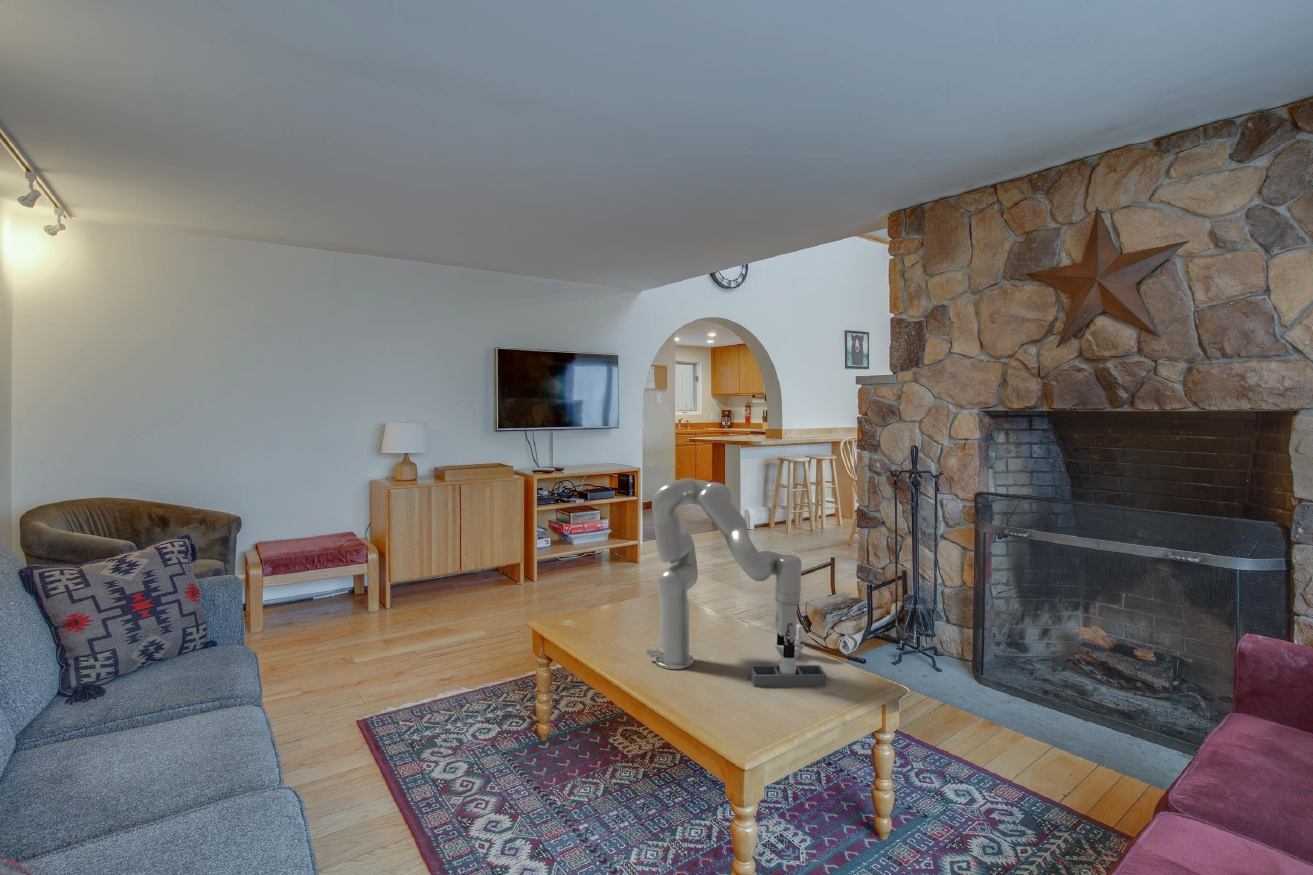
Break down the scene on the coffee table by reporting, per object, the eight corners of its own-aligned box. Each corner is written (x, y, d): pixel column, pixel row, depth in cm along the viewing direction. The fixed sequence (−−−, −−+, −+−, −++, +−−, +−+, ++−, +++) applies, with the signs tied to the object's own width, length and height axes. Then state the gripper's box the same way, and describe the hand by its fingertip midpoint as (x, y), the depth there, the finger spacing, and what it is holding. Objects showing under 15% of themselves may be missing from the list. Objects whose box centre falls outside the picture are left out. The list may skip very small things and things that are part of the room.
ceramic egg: (781, 682, 195) (781, 657, 194) (777, 675, 200) (778, 651, 199) (797, 682, 195) (798, 657, 194) (793, 675, 200) (794, 651, 199)
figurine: (796, 662, 212) (796, 617, 211) (771, 655, 218) (772, 611, 217) (807, 656, 217) (807, 612, 216) (783, 649, 223) (783, 606, 223)
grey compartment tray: (754, 686, 193) (754, 675, 193) (750, 675, 201) (750, 665, 201) (826, 686, 194) (826, 675, 194) (819, 675, 201) (819, 664, 201)
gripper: (769, 587, 205) (767, 640, 206) (781, 604, 188) (778, 662, 189) (793, 588, 205) (791, 640, 206) (806, 605, 188) (804, 662, 189)
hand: (785, 651), depth 197 cm, fingers open, 9 cm apart
